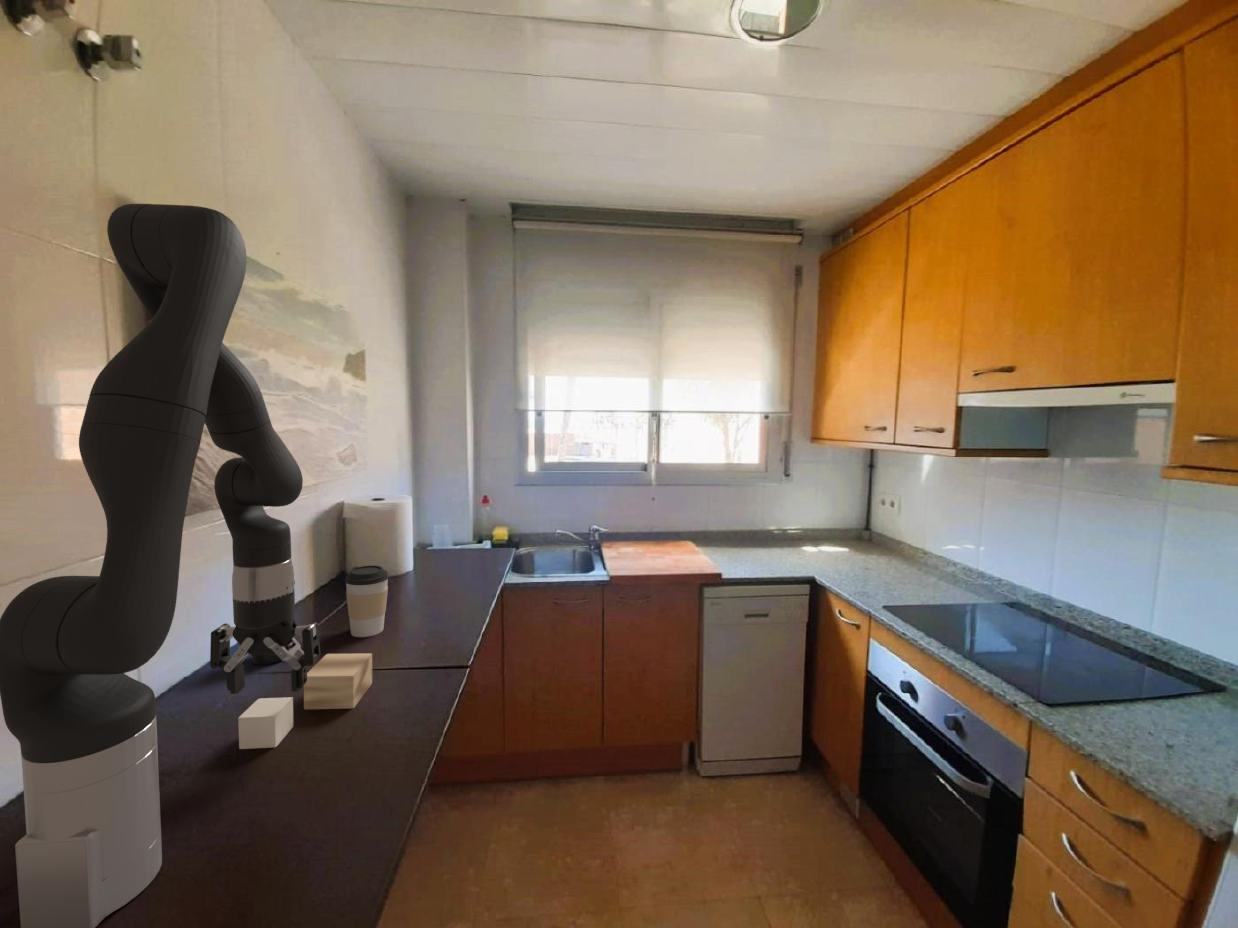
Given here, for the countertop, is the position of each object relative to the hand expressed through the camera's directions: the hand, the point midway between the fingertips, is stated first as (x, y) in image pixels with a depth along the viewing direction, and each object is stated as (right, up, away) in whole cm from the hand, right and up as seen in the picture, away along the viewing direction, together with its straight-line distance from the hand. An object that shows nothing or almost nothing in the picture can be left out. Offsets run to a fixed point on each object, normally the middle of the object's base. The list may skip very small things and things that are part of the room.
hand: (268, 690), depth 74 cm
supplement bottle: (-17, -5, +24) cm, 30 cm away
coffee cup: (-5, -4, +38) cm, 38 cm away
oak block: (+4, -7, +12) cm, 14 cm away
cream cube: (0, -7, 0) cm, 7 cm away
